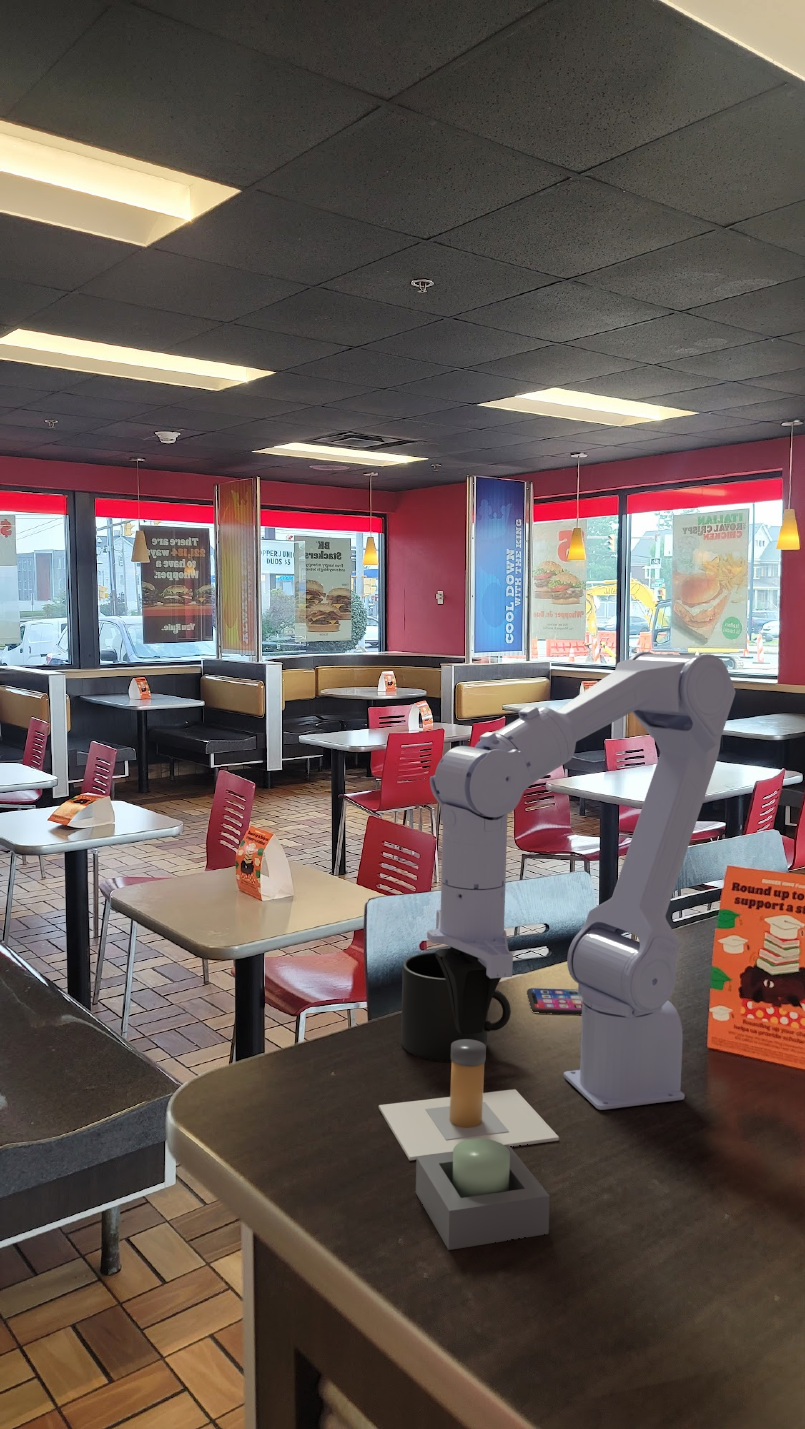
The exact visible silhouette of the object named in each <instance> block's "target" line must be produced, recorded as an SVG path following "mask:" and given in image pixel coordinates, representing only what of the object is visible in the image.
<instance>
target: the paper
mask: <svg viewBox="0 0 805 1429" xmlns="http://www.w3.org/2000/svg"><path fill="white" fill-rule="evenodd" d="M378 1110H379V1112H380V1113H381V1114H382V1117H383V1118H384V1120H385V1122H386V1123H387V1125H388V1127H389V1128H390V1130H391V1132H392V1133H393V1135H394V1137H395V1138H396V1140H397V1142H398V1144H399V1145H400V1147H401V1149H402V1150H403V1152H404V1154H405V1155H406V1157H407V1159H408V1161H409V1162H410V1161H415V1160H417V1157H420V1156H428V1155H435V1154H443V1153H450V1152H453V1149H454V1147H455V1146H456V1145H457V1144H458V1143H460V1142H462V1141H464V1140H468V1139H475V1138H481V1139H489V1140H494V1141H497V1142H499V1143H501V1144H503V1145H509V1146H512V1147H511V1148H513V1146H514V1147H520V1146H519V1145H521V1146H528V1145H534V1144H542V1143H548V1142H549V1143H550V1142H558V1141H560V1137H559V1135H558V1134H556V1132H555V1131H554V1130H553V1128H551V1126H549V1125H548V1123H546V1121H545V1120H544V1119H543V1118H542V1117H541V1116H540V1115H539V1113H538V1112H537V1111H536V1110H535V1109H534V1107H532V1106H531V1105H530V1104H529V1103H528V1102H527V1100H526V1099H525V1098H524V1097H523V1096H522V1095H521V1094H520V1093H519V1092H518V1090H517V1089H516V1088H514V1089H507V1090H506V1089H504V1090H497V1091H490V1092H483V1108H482V1123H481V1124H480V1125H478V1126H476V1127H471V1128H464V1127H459V1126H456V1125H454V1124H452V1123H451V1122H450V1120H449V1117H450V1096H447V1097H446V1096H445V1097H437V1098H431V1099H430V1098H429V1099H422V1100H421V1099H420V1100H414V1101H403V1102H395V1103H387V1104H379V1105H378ZM527 1144H528V1145H527Z"/></svg>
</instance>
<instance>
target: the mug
mask: <svg viewBox="0 0 805 1429" xmlns="http://www.w3.org/2000/svg"><path fill="white" fill-rule="evenodd" d="M401 976H402V980H401V982H402V983H401V985H402V986H401V987H402V988H401V990H402V991H401V1027H400V1028H401V1030H400V1034H401V1035H400V1036H401V1038H400V1041H401V1045H402V1047H403V1049H404V1050H405V1051H406V1052H408V1053H409V1054H411V1055H413V1056H415V1057H417V1058H420V1059H424V1060H429V1061H433V1062H445V1063H447V1062H450V1063H452V1060H451V1044H452V1043H453V1042H454V1041H457V1040H462V1039H471V1040H476V1041H480V1042H482V1043H483V1044H485V1046H486V1047H487V1046H488V1032H492V1031H498V1030H500V1029H502V1028H503V1027H505V1026H506V1025H507V1024H508V1022H509V1020H510V1017H511V1014H512V1013H511V1012H512V1010H511V1009H512V1008H511V1005H510V1002H509V1000H508V999H507V996H505V995H504V994H503V992H501V991H500V990H498V989H495V991H494V994H493V997H492V999H494V1000H496V1001H498V1003H499V1004H500V1006H501V1010H502V1013H501V1017H500V1018H499V1019H498V1020H497V1021H494V1022H491V1021H489V1012H488V1013H487V1017H486V1021H485V1024H484V1028H483V1031H482V1032H481V1033H473V1034H460V1033H459V1031H458V1030H457V1029H456V1026H455V1022H454V1018H453V1012H452V1007H451V1001H450V996H449V991H448V987H447V983H446V979H445V976H444V974H443V971H442V968H441V966H440V964H439V962H438V960H437V958H436V955H435V951H433V952H425V953H420V954H419V953H418V954H416V955H412V956H410V957H408V958H406V959H405V960H404V962H403V964H402V975H401Z"/></svg>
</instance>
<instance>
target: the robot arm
mask: <svg viewBox="0 0 805 1429" xmlns="http://www.w3.org/2000/svg"><path fill="white" fill-rule="evenodd" d="M614 669H615V670H613V671H612V672H611V673H609V674H607V675H606V676H605V677H603V678H602V679H601V680H598V682H596V683H595V684H593V685H592V686H590V687H589V688H587V689H586V690H584V691H583V692H581V693H580V694H579V695H577V696H576V697H574V698H572V699H571V700H570V701H569V702H567V703H566V704H563V705H562V706H561V707H560V708H557V710H554V709H552V708H550V707H545V706H538V707H535V706H525V707H524V708H521V710H518V712H517V714H518V716H519V718H517V719H516V720H514V721H512V722H510V723H509V724H507V725H505V726H503V727H501V728H500V729H498V730H497V731H495V732H489V731H486V732H485V733H483V734H481V735H480V736H479V741H478V742H477V743H476V744H475V746H474V747H473V746H469V745H460V746H459V745H458V746H454V747H453V748H451V749H449V750H447V752H446V753H445V754H444V755H443V756H442V757H441V759H440V760H439V762H438V764H437V766H436V769H435V773H434V775H433V776H430V777H429V785H430V789H431V792H432V795H433V797H434V798H435V800H436V801H437V803H438V804H439V808H440V817H439V818H440V820H439V821H441V822H442V840H441V873H440V874H441V876H440V877H441V880H440V881H441V882H440V883H441V885H440V909H436V913H435V914H436V916H435V917H436V919H435V920H436V921H435V922H436V923H435V929H428V930H427V932H426V938H427V940H429V941H430V943H432V944H444V945H446V946H449V947H450V948H439V949H437V950H435V951H434V952H435V955H436V958H437V960H438V962H439V964H440V966H441V968H442V971H443V974H444V976H445V979H446V983H447V987H448V991H449V996H450V1001H451V1007H452V1012H453V1018H454V1022H455V1026H456V1029H457V1030H458V1031H459V1033H460V1034H473V1033H481V1032H482V1031H483V1028H484V1024H485V1021H486V1017H487V1013H488V1014H489V1009H490V1005H491V1002H492V999H493V998H492V997H493V994H494V991H495V990H497V989H496V988H498V985H499V983H500V980H502V979H504V978H511V977H512V978H513V965H514V964H513V962H514V961H513V960H514V954H513V953H512V952H510V950H509V944H508V937H507V931H506V930H505V910H506V908H505V907H506V884H507V883H506V881H507V880H506V879H507V878H506V877H507V847H508V842H507V841H508V814H512V812H514V810H516V808H517V806H518V805H519V803H520V801H521V799H522V796H523V793H524V791H525V790H527V789H528V788H529V787H530V786H531V785H533V784H534V783H536V782H538V781H539V780H541V779H542V778H544V777H546V776H548V775H549V774H551V773H552V772H554V771H556V770H557V769H559V768H560V767H562V766H563V765H564V764H567V763H568V762H570V761H571V760H572V759H573V757H574V755H575V750H576V745H577V742H578V741H580V740H583V739H584V738H586V737H588V736H589V735H592V734H593V733H596V732H597V731H600V730H601V729H603V728H605V727H607V726H608V725H611V724H612V723H614V722H616V721H618V720H620V719H622V718H624V717H626V716H627V715H629V714H631V713H632V715H633V716H634V717H635V719H636V720H637V721H638V722H639V724H640V725H641V726H642V727H643V728H644V730H645V731H646V732H647V734H648V735H649V736H650V737H651V738H652V739H654V741H655V743H656V746H657V747H658V750H659V757H658V760H657V762H656V765H655V767H654V771H653V775H652V777H651V780H650V783H649V786H648V789H647V792H646V795H645V798H644V802H643V804H642V807H641V810H640V813H639V816H638V819H637V822H636V825H635V828H634V831H633V833H632V836H631V839H630V842H629V846H628V849H627V852H626V855H625V857H624V861H623V863H622V866H621V869H620V873H619V875H618V879H617V881H616V884H615V887H614V890H613V894H612V895H611V896H612V897H610V898H609V899H608V900H606V901H604V902H602V903H601V904H599V905H597V906H594V908H592V909H590V910H589V911H588V913H587V917H586V920H585V923H584V924H583V925H582V927H581V929H580V930H579V931H578V932H577V933H576V935H575V936H574V938H573V939H572V941H571V943H570V946H569V948H568V951H567V959H566V961H567V964H566V966H567V970H568V972H569V975H570V977H571V978H572V980H574V982H576V983H577V984H578V988H577V990H578V994H579V995H580V996H582V999H583V1000H582V1015H581V1026H580V1027H581V1029H580V1030H581V1032H580V1033H581V1034H580V1056H579V1057H580V1058H579V1059H580V1063H579V1069H576V1070H566V1071H564V1072H563V1078H564V1079H565V1080H566V1081H567V1082H569V1083H570V1084H571V1085H572V1086H573V1087H574V1088H575V1090H577V1091H578V1092H579V1093H580V1094H581V1095H582V1096H583V1097H584V1098H586V1099H587V1100H588V1102H589V1103H591V1105H593V1106H594V1107H595V1108H596V1109H597V1110H600V1111H602V1110H604V1111H605V1110H612V1109H619V1108H629V1107H635V1106H644V1105H650V1104H656V1103H659V1104H661V1103H667V1102H675V1101H682V1100H684V1099H685V1096H686V1095H685V1093H684V1092H682V1091H681V1084H682V1083H681V1082H682V1063H683V1062H682V1059H683V1039H684V1038H683V1034H684V1033H683V1026H682V1021H681V1018H680V1015H679V1012H678V1011H677V1009H676V1007H675V1005H673V1004H672V1002H671V1001H669V998H670V997H671V995H672V993H673V991H674V988H675V984H676V980H677V978H676V976H677V971H676V970H677V969H676V968H677V967H676V964H677V957H678V954H679V949H680V947H681V943H680V941H679V938H678V937H677V935H676V933H675V931H674V930H673V928H672V927H671V926H670V924H669V921H668V920H667V918H666V915H667V913H668V909H669V906H670V904H671V900H672V897H673V895H674V891H675V889H676V886H677V883H678V879H679V876H680V873H681V870H682V867H683V864H684V860H685V859H686V855H687V852H688V849H689V845H690V842H691V840H692V836H693V834H694V831H695V828H696V824H697V821H698V818H699V815H700V813H701V809H702V806H703V804H704V801H705V798H706V794H707V791H708V787H709V785H710V781H711V779H712V776H713V772H714V770H715V766H716V763H717V760H718V757H719V753H720V748H721V739H722V736H723V732H724V729H725V727H726V723H727V720H728V716H729V714H730V711H731V708H732V705H733V702H734V699H735V696H736V689H735V686H734V684H733V681H732V678H731V676H730V673H729V671H728V668H727V665H726V664H725V663H724V662H723V660H722V659H721V658H719V657H718V656H717V655H714V654H710V653H708V654H704V653H703V654H699V655H696V654H695V655H694V654H673V653H672V654H667V653H666V654H665V653H653V652H650V651H641V652H637V653H635V654H633V655H632V656H630V658H627V659H624V660H622V661H619V662H617V664H616V666H615V668H614ZM627 933H628V934H632V935H633V936H636V937H637V939H638V940H636V939H633V938H630V937H627V936H624V934H627Z"/></svg>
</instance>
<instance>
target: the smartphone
mask: <svg viewBox="0 0 805 1429" xmlns="http://www.w3.org/2000/svg"><path fill="white" fill-rule="evenodd" d="M526 995H528V996H527V1000H528V999H529V1000H528V1003H529V1002H530V1004H529V1007H530V1006H531V1007H530V1010H531V1009H532V1011H533V1012H539V1013H546V1014H545V1015H548V1014H547V1013H552V1014H551V1015H560V1014H582V1000H583V999H582V996H580V995H579V994H578V989H573V988H571V989H567V988H565V989H564V988H537V987H535V988H534V987H531V988H529V989H527V990H526ZM532 1011H531V1012H532ZM533 1012H532V1013H533Z"/></svg>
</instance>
